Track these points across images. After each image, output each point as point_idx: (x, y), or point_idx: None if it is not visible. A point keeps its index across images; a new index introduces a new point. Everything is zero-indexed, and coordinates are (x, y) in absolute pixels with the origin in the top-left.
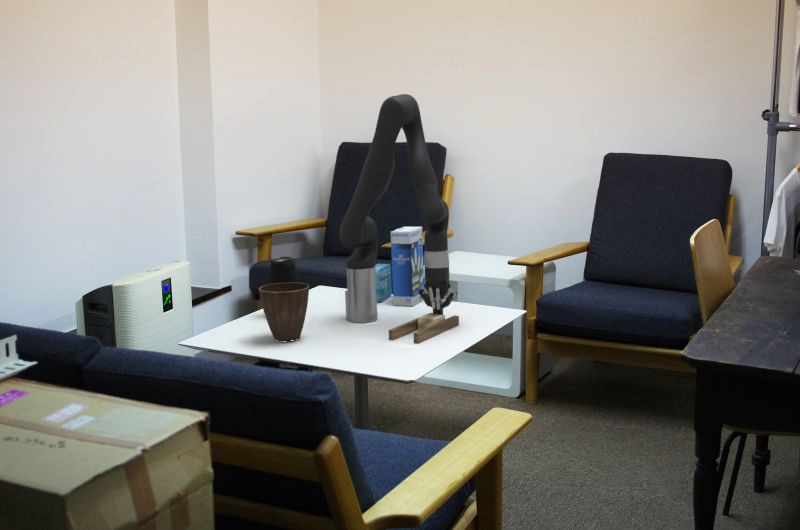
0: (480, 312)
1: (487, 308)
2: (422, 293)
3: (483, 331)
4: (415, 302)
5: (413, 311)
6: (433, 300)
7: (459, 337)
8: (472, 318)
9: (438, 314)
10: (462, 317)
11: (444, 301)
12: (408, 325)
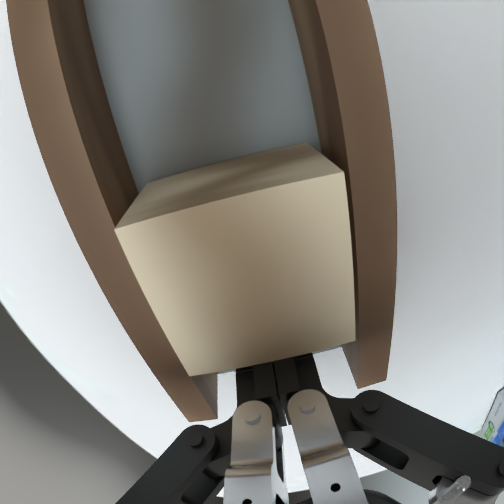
0: (292, 472)
1: (302, 485)
2: (471, 472)
3: (60, 368)
4: (496, 406)
5: (488, 374)
6: (305, 466)
7: (15, 236)
8: None
9: (249, 365)
10: None
11: (180, 483)
12: (313, 6)
